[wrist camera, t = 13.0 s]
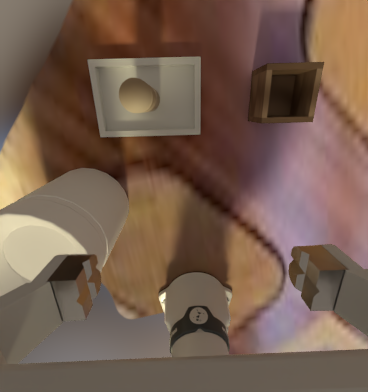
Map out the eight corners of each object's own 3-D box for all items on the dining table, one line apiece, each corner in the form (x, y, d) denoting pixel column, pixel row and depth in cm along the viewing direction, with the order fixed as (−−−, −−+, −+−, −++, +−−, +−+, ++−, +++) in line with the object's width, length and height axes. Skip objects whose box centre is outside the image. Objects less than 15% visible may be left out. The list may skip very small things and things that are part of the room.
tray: (199, 133, 40) (200, 134, 39) (104, 135, 40) (100, 137, 38) (199, 59, 36) (200, 56, 34) (92, 61, 36) (87, 59, 34)
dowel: (160, 111, 38) (152, 112, 27) (138, 111, 38) (121, 113, 27) (159, 86, 37) (149, 77, 26) (135, 86, 37) (116, 78, 26)
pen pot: (291, 119, 40) (312, 121, 33) (248, 120, 40) (261, 123, 33) (298, 70, 37) (324, 61, 30) (252, 71, 37) (267, 63, 30)
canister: (124, 242, 49) (90, 322, 31) (52, 228, 48) (-29, 304, 29) (134, 177, 44) (100, 228, 25) (53, 159, 42) (-48, 199, 23)
